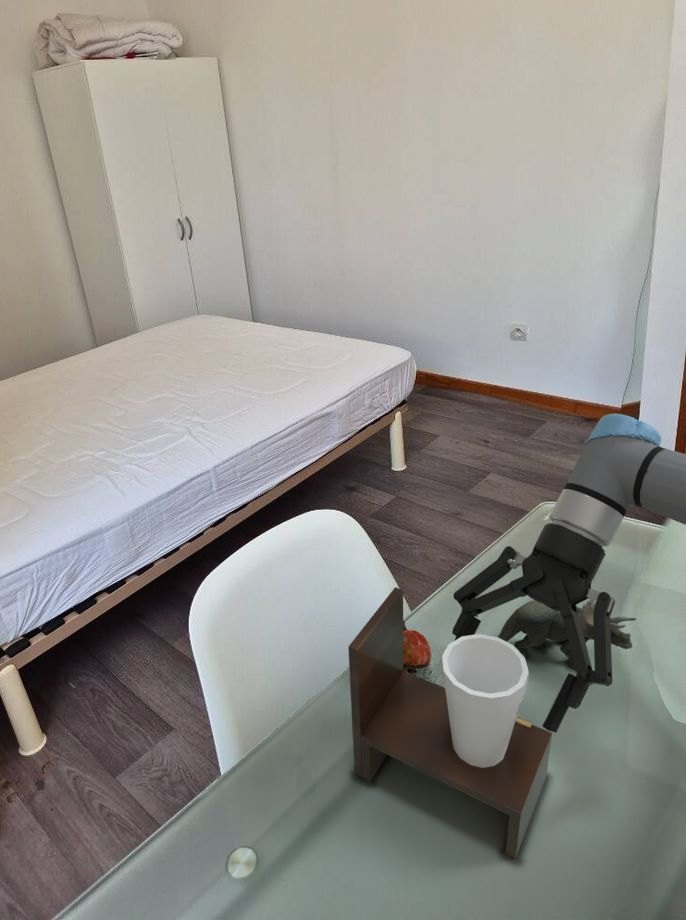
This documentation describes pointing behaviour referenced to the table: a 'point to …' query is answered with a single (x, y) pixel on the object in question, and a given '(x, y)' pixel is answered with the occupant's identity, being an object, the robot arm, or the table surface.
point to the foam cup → (483, 695)
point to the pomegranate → (415, 650)
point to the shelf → (433, 727)
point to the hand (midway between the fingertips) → (496, 695)
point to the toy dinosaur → (556, 628)
